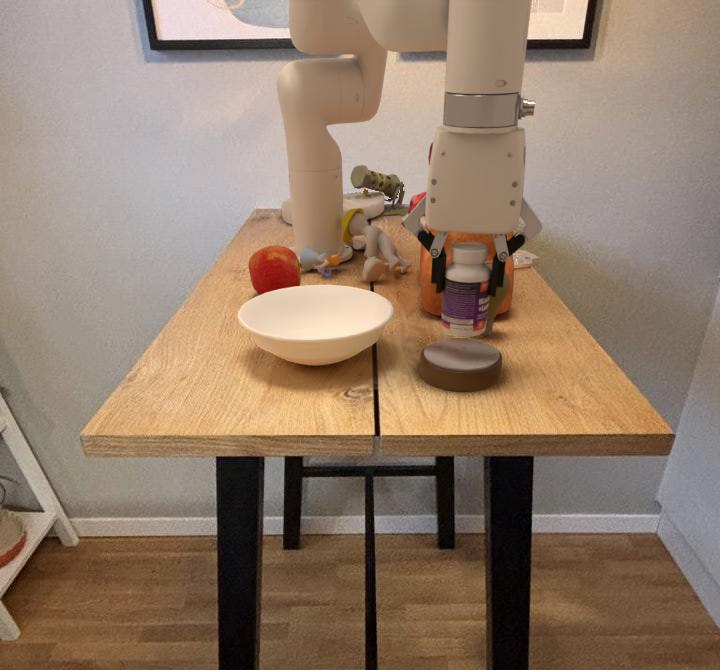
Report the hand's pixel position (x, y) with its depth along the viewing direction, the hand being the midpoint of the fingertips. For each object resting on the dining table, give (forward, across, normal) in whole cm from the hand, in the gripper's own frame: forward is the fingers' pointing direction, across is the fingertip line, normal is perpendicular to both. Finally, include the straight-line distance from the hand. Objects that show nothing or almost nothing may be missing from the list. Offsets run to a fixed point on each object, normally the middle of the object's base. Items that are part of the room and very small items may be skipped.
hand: (466, 289), depth 76 cm
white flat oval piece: (+10, +37, -80) cm, 89 cm away
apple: (+11, +32, -22) cm, 40 cm away
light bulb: (+11, -2, -13) cm, 17 cm away
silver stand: (+11, 0, 0) cm, 11 cm away
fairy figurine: (+10, +36, -38) cm, 54 cm away
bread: (+11, +3, -31) cm, 33 cm away
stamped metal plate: (+12, -6, -50) cm, 52 cm away
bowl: (+11, +19, -2) cm, 22 cm away
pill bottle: (+5, 0, 0) cm, 5 cm away
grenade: (+3, +31, -80) cm, 86 cm away
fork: (+8, +27, -56) cm, 63 cm away
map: (+11, +18, -86) cm, 88 cm away
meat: (+14, +5, -73) cm, 74 cm away
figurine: (+10, +15, -35) cm, 40 cm away
